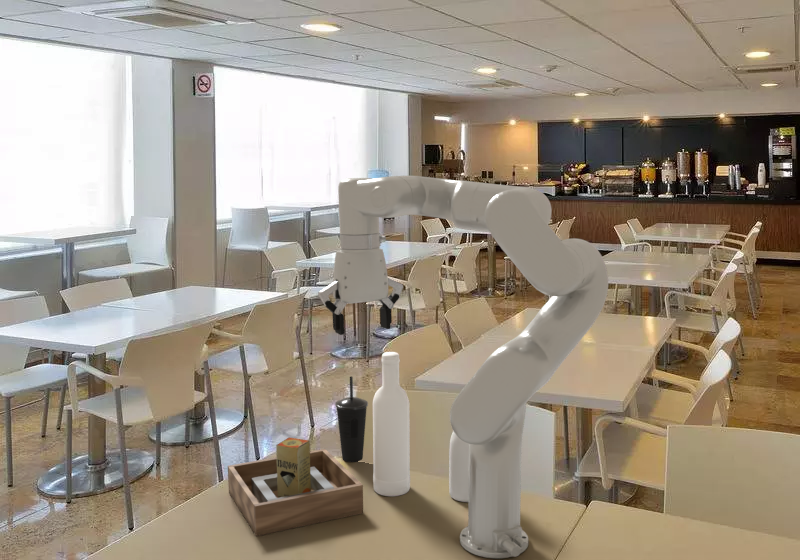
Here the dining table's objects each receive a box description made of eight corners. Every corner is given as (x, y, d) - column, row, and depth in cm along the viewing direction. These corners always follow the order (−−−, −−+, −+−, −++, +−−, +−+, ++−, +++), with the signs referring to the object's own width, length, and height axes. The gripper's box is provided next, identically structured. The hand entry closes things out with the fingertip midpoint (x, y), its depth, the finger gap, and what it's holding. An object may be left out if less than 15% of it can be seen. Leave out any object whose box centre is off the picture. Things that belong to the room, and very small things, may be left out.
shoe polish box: (298, 504, 161) (297, 448, 159) (278, 500, 163) (276, 445, 161) (311, 495, 166) (309, 440, 164) (290, 491, 168) (288, 437, 166)
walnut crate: (363, 513, 159) (362, 484, 158) (256, 536, 150) (255, 506, 149) (325, 474, 179) (325, 448, 178) (228, 492, 170) (227, 465, 169)
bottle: (367, 493, 169) (365, 356, 164) (382, 479, 176) (381, 347, 171) (401, 499, 166) (400, 359, 161) (415, 485, 173) (415, 351, 168)
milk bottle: (473, 506, 162) (474, 412, 159) (442, 497, 167) (442, 405, 163) (492, 493, 168) (493, 402, 165) (461, 484, 173) (462, 396, 170)
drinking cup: (374, 456, 189) (373, 375, 186) (356, 467, 183) (355, 383, 180) (348, 450, 193) (347, 370, 190) (330, 460, 187) (328, 378, 184)
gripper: (392, 238, 159) (394, 322, 161) (310, 244, 151) (314, 332, 154) (409, 241, 152) (411, 329, 154) (324, 247, 144) (327, 339, 147)
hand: (362, 330), depth 154 cm, fingers open, 9 cm apart
